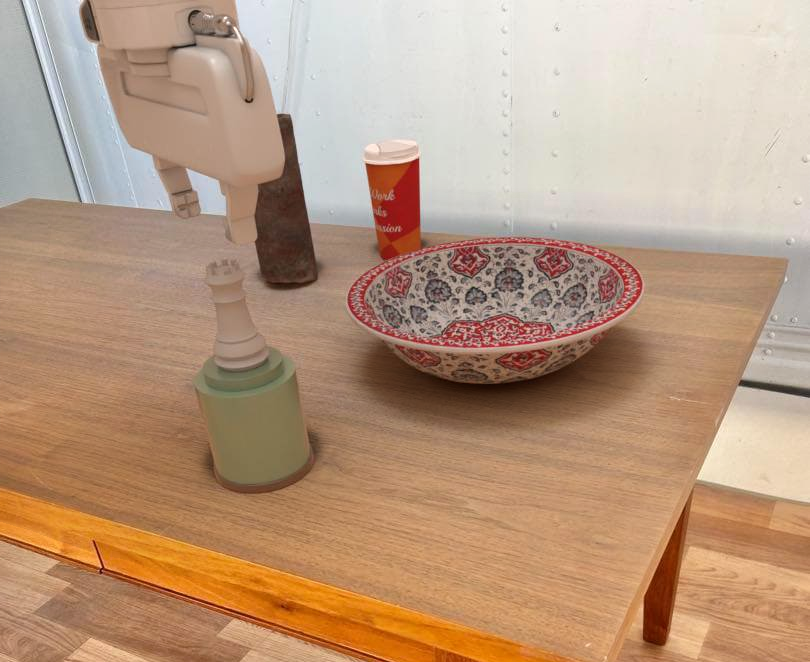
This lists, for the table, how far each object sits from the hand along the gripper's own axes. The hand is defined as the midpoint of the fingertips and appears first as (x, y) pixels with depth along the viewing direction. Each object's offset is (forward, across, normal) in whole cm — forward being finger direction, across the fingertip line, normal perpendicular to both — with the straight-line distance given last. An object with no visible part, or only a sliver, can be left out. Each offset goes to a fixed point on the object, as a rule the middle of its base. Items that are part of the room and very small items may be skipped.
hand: (214, 228), depth 63 cm
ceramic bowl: (+21, +2, -28) cm, 35 cm away
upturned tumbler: (+21, 0, 0) cm, 21 cm away
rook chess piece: (+11, 0, 0) cm, 11 cm away
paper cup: (+21, +36, -40) cm, 58 cm away
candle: (+21, +39, -25) cm, 51 cm away
